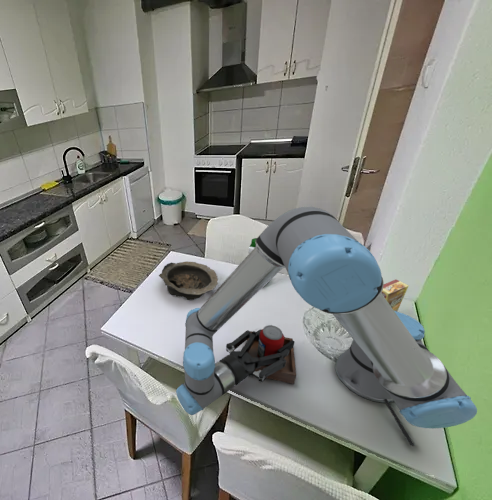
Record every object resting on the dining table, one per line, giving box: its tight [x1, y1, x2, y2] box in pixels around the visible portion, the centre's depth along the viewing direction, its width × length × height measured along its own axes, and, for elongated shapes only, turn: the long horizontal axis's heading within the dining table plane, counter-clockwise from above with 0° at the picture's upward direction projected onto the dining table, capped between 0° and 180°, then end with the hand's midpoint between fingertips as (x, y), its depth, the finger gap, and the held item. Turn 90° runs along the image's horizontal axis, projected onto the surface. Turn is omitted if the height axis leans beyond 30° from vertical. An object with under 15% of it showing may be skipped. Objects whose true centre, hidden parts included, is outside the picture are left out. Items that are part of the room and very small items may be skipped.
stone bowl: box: [158, 261, 219, 301], centre depth 121 cm, size 25×25×9 cm
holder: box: [246, 330, 297, 385], centre depth 87 cm, size 14×14×4 cm
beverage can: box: [257, 324, 285, 365], centre depth 85 cm, size 7×7×12 cm
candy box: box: [381, 278, 410, 312], centre depth 92 cm, size 9×4×15 cm, turn 110°
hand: (281, 335), depth 86 cm, fingers closed on beverage can, 7 cm apart
